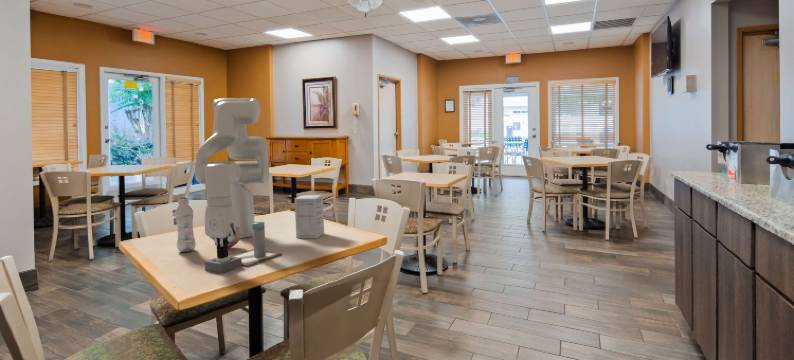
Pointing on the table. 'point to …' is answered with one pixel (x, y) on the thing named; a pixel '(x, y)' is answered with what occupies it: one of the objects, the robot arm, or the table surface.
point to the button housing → (223, 265)
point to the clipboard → (249, 257)
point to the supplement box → (309, 216)
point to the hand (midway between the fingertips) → (222, 257)
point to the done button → (223, 259)
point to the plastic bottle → (185, 226)
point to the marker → (259, 239)
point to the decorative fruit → (237, 238)
